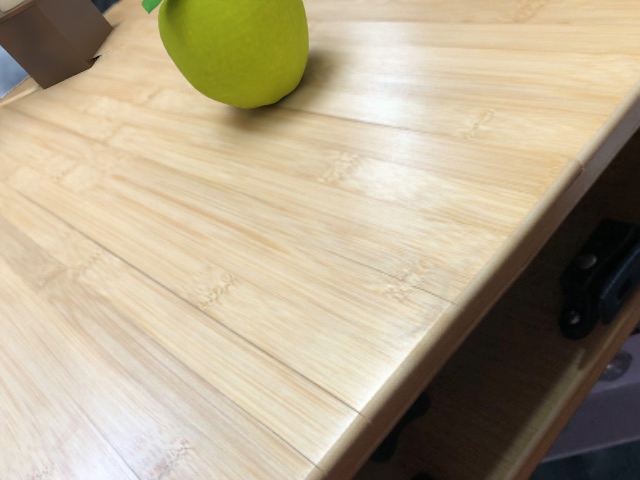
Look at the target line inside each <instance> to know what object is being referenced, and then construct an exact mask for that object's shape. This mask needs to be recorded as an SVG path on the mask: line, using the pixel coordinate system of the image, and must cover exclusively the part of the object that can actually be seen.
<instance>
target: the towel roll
mask: <svg viewBox="0 0 640 480" xmlns="http://www.w3.org/2000/svg"><path fill="white" fill-rule="evenodd" d="M23 1H25V0H0V10H1V11H2V12H6V11H8V10H10V9H12V8H14V7H16V6H17V5H19V4H20V3H22V2H23Z"/></svg>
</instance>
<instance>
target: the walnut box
mask: <svg viewBox="0 0 640 480" xmlns="http://www.w3.org/2000/svg"><path fill="white" fill-rule="evenodd" d="M113 30H114V27H113V26H112V24H111V23H110V22H109V21H108V20H107V19H106V17H105V16H104V15H103V14H102V12H101V11H100V10H99V8H97V6H96V5H95V4H94V2H92V0H25V1H23V2H22V3H20V4H19V5H17V6H16V7H14V8H12V9H10V10H8V11H6V12H2V11H1V10H0V47H1V48H3V50H4V51H5V52H6V53H7V54H8V55H9V56H10V57H11V58H12V59H13V60H14V61H15V62H16V63H17V64H18V65H19V66H20V67H21V68H22V70H24V71H25V72H26V73H27V74H28V75H29V76H30V77H31V78H32V79H33V81H34V82H35V83H36V84H38V86H39V87H40V88H41V89H42V90H45V89H47V88H49V87H52V86H54V85H56V84H58V83H61V82H62V81H64V80H67V79H68V78H71V77H74V76H75V75H77V74H79V73H82V72H84V71H87V70H88V69H90V68H92V67H93V65H94V64H95V62H96V61H97V59H98V58H99V57H100V54H99V55H97V56H95V55H96V54H97V53H98V51H99V49H100V48H101V47H102V45H103V44H104V42H105V41H106V40H107V38H108V37H109V36H110V34H111V32H112V31H113Z"/></svg>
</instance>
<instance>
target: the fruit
mask: <svg viewBox="0 0 640 480" xmlns="http://www.w3.org/2000/svg"><path fill="white" fill-rule="evenodd" d="M159 5H160V6H159ZM141 6H142V8H143V9H144V10H145V11H146V12H147V14H148V15H150V14H151V13H152V12H153V10H155V9H156V8H158V6H159V9H158V14H157V25H158V31H159V36H160V39H161V42H162V45H163V47H164V49H165V51H166V53H167V54H168V56H169V58H170V59H171V60H172V62H173V64H174V65H175V67H176V68H177V69H178V70H179V72H180V74H181V75H182V76H183V77H184V78H185V79H186V81H187V82H188V83H189V84H190V85H191V87H193V88H194V89H195V90H196V91H197V92H198V93H200V94H202V95H203V96H205V97H207V98H208V99H210V100H212V101H216V102H218V103H221V104H224V105H226V106H227V105H228V106H231V107H235V108H239V109H256V108H257V109H258V108H261V107H265V106H269V105H273V104H276V103H278V102H279V101H280V100H282V99H283V98H284V97H286V96H287V95H289V94H291V93H292V92H294V91H295V89H296V88H297V87H298V85H299V84H300V82H301V80H302V78H303V76H304V73H305V69H306V68H307V67H306V66H307V62H308V57H309V51H310V49H309V48H310V39H309V37H310V36H309V25H308V18H307V13H306V8H305V4H304V0H142V2H141Z"/></svg>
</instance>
